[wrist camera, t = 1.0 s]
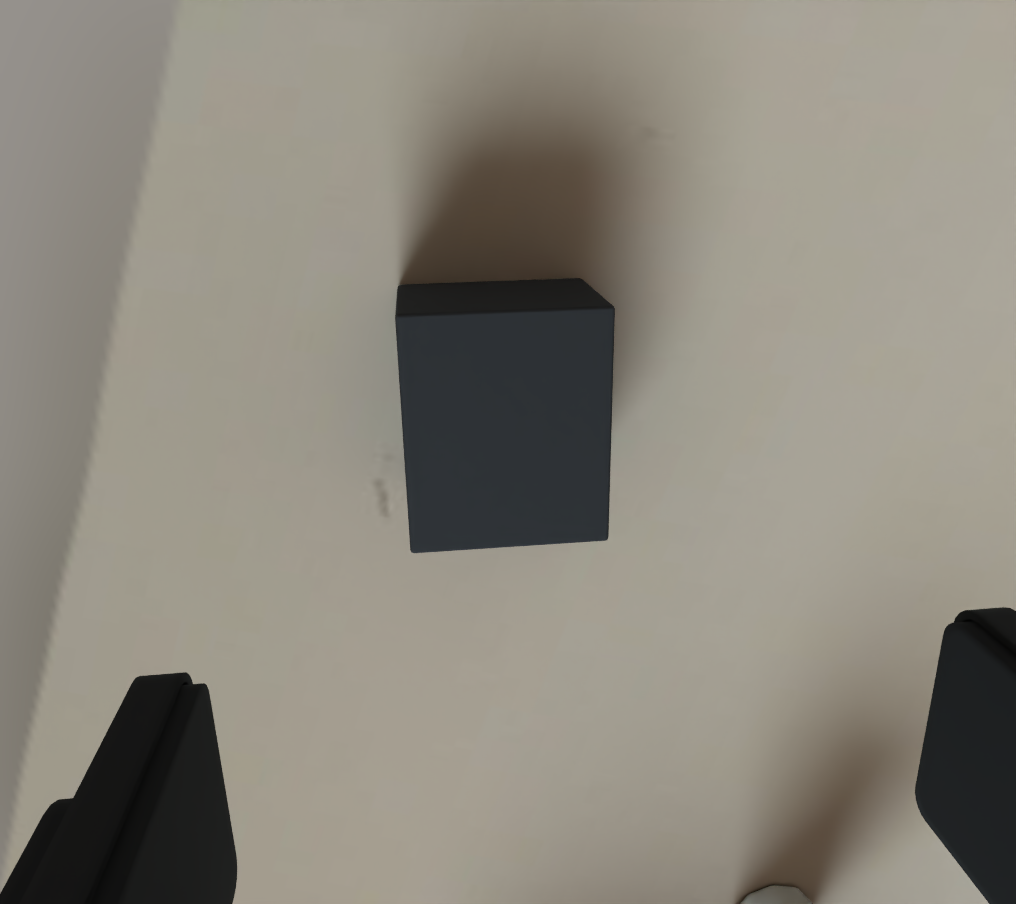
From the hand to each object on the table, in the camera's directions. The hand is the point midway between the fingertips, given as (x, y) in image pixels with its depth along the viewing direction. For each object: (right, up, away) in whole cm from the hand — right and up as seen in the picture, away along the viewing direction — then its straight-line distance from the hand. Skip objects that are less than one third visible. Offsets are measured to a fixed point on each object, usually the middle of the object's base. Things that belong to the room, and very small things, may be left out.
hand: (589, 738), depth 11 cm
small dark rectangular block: (-1, +5, +13) cm, 14 cm away
